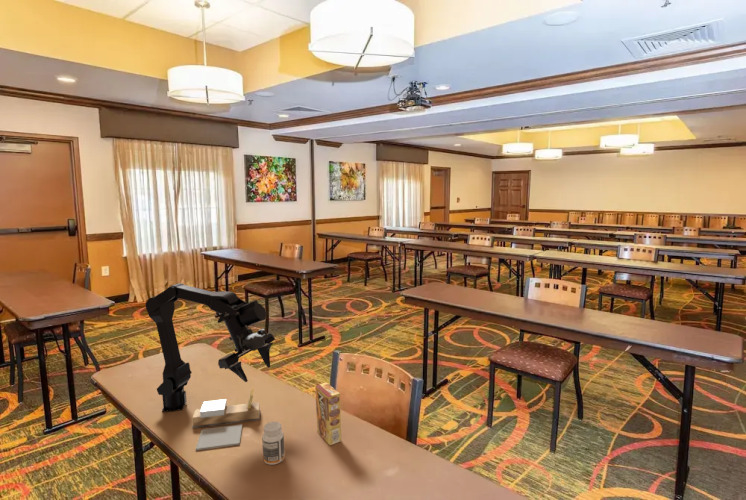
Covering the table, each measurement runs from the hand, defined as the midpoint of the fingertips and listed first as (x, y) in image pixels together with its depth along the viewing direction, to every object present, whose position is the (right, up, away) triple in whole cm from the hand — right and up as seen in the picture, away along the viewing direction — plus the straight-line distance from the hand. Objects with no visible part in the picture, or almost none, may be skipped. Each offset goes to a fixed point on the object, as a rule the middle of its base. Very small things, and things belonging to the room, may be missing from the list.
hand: (258, 374), depth 133 cm
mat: (-9, -17, -8) cm, 21 cm away
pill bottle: (+10, -18, -18) cm, 28 cm away
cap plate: (-14, -12, 0) cm, 19 cm away
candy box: (+24, -17, -8) cm, 30 cm away
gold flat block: (-4, -11, +2) cm, 12 cm away
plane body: (-10, -15, +2) cm, 19 cm away
